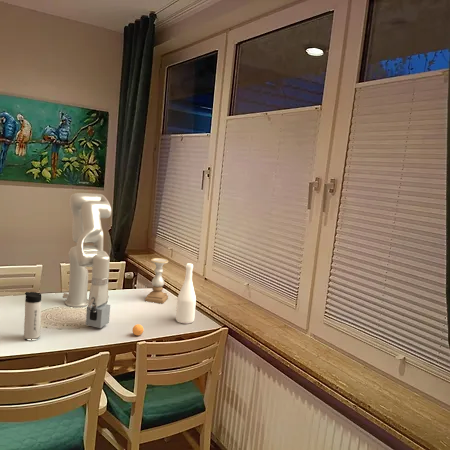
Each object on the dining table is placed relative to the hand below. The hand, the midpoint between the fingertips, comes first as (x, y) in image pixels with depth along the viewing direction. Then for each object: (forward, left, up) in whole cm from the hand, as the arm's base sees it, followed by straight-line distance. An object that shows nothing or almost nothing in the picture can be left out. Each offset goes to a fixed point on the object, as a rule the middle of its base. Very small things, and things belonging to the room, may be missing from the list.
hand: (97, 316), depth 204 cm
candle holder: (+8, +52, -5) cm, 53 cm away
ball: (+21, 0, -2) cm, 21 cm away
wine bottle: (+34, +28, -5) cm, 44 cm away
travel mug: (-17, -24, -5) cm, 30 cm away
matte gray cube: (0, 0, -3) cm, 3 cm away
